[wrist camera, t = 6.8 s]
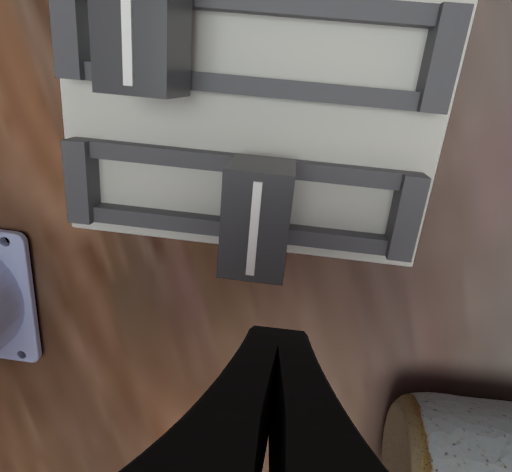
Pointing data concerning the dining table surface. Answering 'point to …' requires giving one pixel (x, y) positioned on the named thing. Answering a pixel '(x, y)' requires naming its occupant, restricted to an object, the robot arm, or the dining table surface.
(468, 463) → the ceramic mug
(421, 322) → the dining table surface
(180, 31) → the fader knob
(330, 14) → the mixing board
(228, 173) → the fader knob
